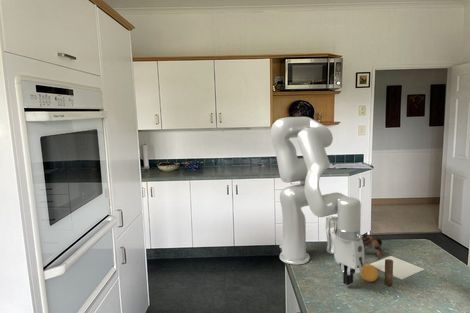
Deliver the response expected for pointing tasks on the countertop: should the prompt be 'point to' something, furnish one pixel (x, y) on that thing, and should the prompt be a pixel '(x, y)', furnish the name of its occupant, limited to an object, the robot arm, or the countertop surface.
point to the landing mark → (398, 267)
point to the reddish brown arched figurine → (376, 242)
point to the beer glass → (331, 233)
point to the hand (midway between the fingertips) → (348, 283)
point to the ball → (369, 273)
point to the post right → (388, 273)
